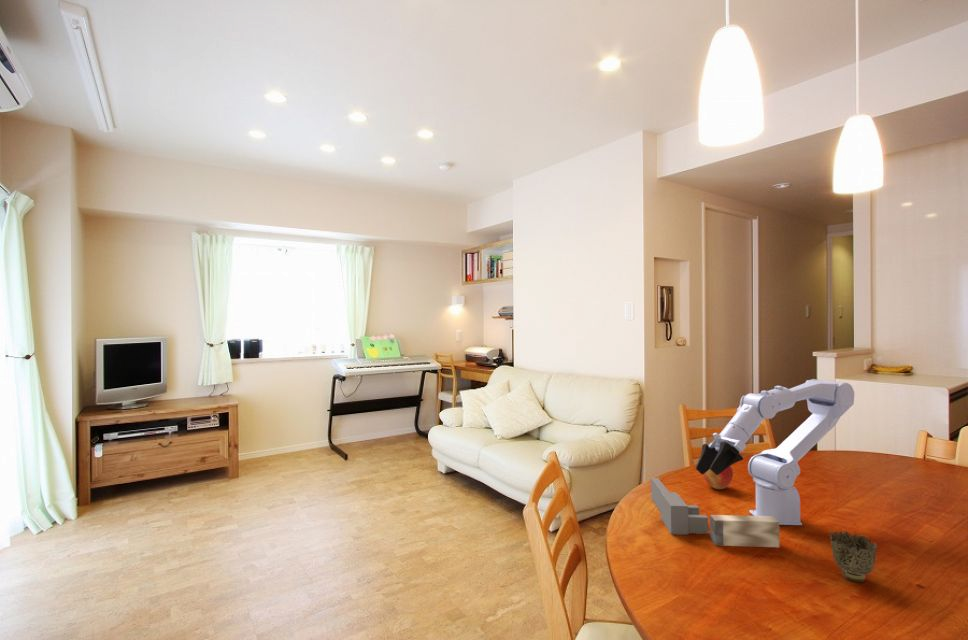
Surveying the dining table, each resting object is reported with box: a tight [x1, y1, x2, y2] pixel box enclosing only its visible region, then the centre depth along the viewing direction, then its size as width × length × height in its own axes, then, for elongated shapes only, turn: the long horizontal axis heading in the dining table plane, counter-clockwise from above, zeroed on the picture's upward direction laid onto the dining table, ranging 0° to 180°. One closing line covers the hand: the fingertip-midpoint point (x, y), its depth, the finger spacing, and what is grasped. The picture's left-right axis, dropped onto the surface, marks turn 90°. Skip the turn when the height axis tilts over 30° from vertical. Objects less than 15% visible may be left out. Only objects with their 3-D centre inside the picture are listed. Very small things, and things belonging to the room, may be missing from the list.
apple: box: [703, 465, 734, 490], centre depth 146 cm, size 8×8×10 cm
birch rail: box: [709, 514, 780, 548], centre depth 110 cm, size 14×3×6 cm, turn 84°
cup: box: [829, 530, 878, 583], centre depth 95 cm, size 8×7×8 cm
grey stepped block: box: [650, 477, 709, 536], centre depth 126 cm, size 9×23×7 cm, turn 175°
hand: (706, 471), depth 117 cm, fingers open, 7 cm apart
